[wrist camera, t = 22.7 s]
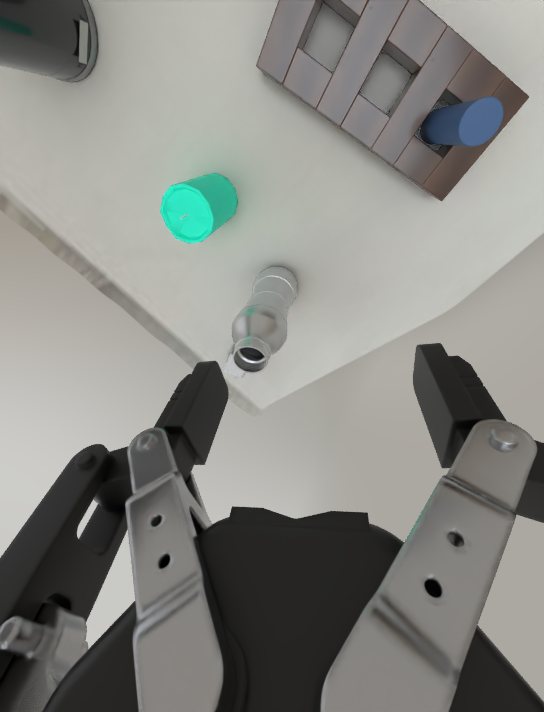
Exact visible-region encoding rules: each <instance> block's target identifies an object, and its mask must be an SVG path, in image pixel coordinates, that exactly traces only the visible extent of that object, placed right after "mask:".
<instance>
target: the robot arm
mask: <svg viewBox="0 0 544 712" xmlns="http://www.w3.org/2000/svg"><path fill="white" fill-rule="evenodd" d="M96 55H97V32H96V26H95V22H94V18H93V14H92V11H91V8H90V5H89V3H88V0H0V66H4V67H8V68H13V69H18V70H22V71H27V72H31V73H36V74H40V75H44V76H49V77H53V78H56V79H59V80H63V81H67V82H77V81H80V80H82V79H84V78H85V77H86V76H87V75H88V74H89V73H90V72H91V70H92V68H93V66H94V63H95V60H96ZM413 385H414V390H415V394H416V396H417V399H418V402H419V405H420V408H421V411H422V413H423V416H424V419H425V422H426V425H427V427H428V430H429V433H430V436H431V439H432V442H433V444H434V447H435V450H436V453H437V455H438V458H439V461H440V464H441V467H442V468H450V470H449V471H448V473H447V475H446V476H442V478H441V479H440V481H439V482H438V484H437V486H436V487H435V489H434V491H433V493H432V495H431V496H430V498H429V500H428V502H427V503H426V505H425V507H424V509H423V510H422V512H421V514H420V516H419V518H418V519H417V521H416V523H415V525H414V526H413V528H412V530H411V532H410V533H409V535H408V537H407V539H406V541H405V542H403V541H401V540H400V539H398V538H397V537H396V536H394V535H393V534H391V533H390V532H388V531H386V530H384V529H382V528H380V527H378V526H375V525H372V524H369V521H368V513H362V512H340V511H330V512H326V513H321V514H317V515H312V516H308V517H303V518H298V519H294V518H290V517H287V516H284V515H282V514H279V513H276V512H273V511H270V510H267V509H264V508H251V507H232V509H231V513H230V517H228V518H225V519H223V520H220V521H218V522H216V523H214V524H212V523H211V521H210V519H209V517H208V515H207V512H206V510H205V507H204V504H203V501H202V499H201V496H200V493H199V490H198V487H197V484H196V482H195V479H194V476H193V474H192V472H191V471H192V468H193V465H204V464H205V462H206V460H207V457H208V454H209V451H210V448H211V445H212V443H213V440H214V437H215V434H216V431H217V429H218V426H219V423H220V420H221V417H222V415H223V412H224V409H225V406H226V404H227V401H228V387H227V384H226V382H225V379H224V377H223V374H222V372H221V369H220V367H219V364H218V363H217V362H216V361H207V362H199V363H197V365H196V367H195V368H194V370H193V372H192V374H188V375H187V376H186V377H185V378H184V379H183V380H182V381H181V382H180V383H179V384H178V386H177V388H176V390H175V391H174V392H175V393H173V395H172V397H171V398H170V401H169V402H168V404H167V405H166V407H165V409H164V411H163V412H162V414H161V416H160V418H159V419H158V421H157V423H156V424H155V426H154V428H150V429H147V430H145V431H143V432H141V433H140V434H138V435H137V436H136V437H135V438H134V439H133V440H132V442H131V443H130V445H129V446H128V447H125V448H121V449H118V450H114V451H111V452H109V451H108V450H107V448H105V446H104V445H101V444H95V445H91V446H89V447H86V448H85V449H83V450H81V451H80V452H79V453H78V454H76V455H75V456H74V457H73V458H72V459H71V460H70V462H69V463H68V465H67V466H66V467H65V469H64V470H63V472H62V473H61V474H60V476H59V477H58V478H57V480H56V481H55V483H54V484H53V485H52V487H51V488H50V490H49V491H48V493H47V494H46V495H45V497H44V498H43V499H42V501H41V502H40V504H39V505H38V506H37V508H36V509H35V511H34V512H33V514H32V515H31V516H30V518H29V519H28V520H27V522H26V523H25V525H24V526H23V527H22V529H21V530H20V531H19V533H18V534H17V536H16V537H15V539H14V540H13V541H12V543H11V544H10V546H9V547H8V548H7V550H6V551H5V552H4V554H3V555H2V557H1V558H0V712H544V702H543V700H541V698H540V697H539V696H538V695H537V693H536V692H535V691H534V690H533V689H532V688H531V687H530V685H529V684H528V683H527V682H526V681H525V680H524V678H523V677H522V676H521V675H520V674H519V673H518V672H517V670H516V669H515V668H514V667H513V666H512V665H511V663H510V662H509V661H508V660H507V659H506V658H505V657H504V656H503V654H502V653H501V652H500V651H499V650H498V648H497V647H496V646H495V645H494V644H493V643H492V642H491V640H490V639H489V638H488V637H487V636H486V635H485V633H484V632H483V631H482V630H481V629H480V628H479V626H478V625H477V624H478V621H479V619H480V616H481V613H482V610H483V607H484V605H485V602H486V599H487V597H488V594H489V591H490V588H491V585H492V583H493V580H494V577H495V574H496V572H497V569H498V566H499V563H500V560H501V558H502V555H503V552H504V549H505V547H506V543H507V541H508V538H509V535H510V532H511V530H512V527H513V524H514V521H515V518H516V514H517V515H520V516H523V517H526V518H530V519H533V520H536V521H539V522H543V523H544V443H541V442H538V441H535V440H534V439H533V438H532V437H531V436H530V434H528V433H527V432H526V431H525V430H523V429H522V428H520V427H519V426H517V425H514V424H512V423H509V422H507V421H506V419H505V418H504V416H503V415H502V413H501V411H500V410H499V408H498V407H497V405H496V404H495V402H494V401H493V399H492V397H491V396H490V394H489V393H488V391H487V389H486V388H485V387H484V386H483V383H482V382H481V380H480V378H479V377H477V374H476V372H475V371H474V369H473V368H472V366H471V364H469V363H468V362H466V361H465V360H463V359H462V358H461V357H459V356H448V355H447V353H446V352H445V349H444V348H443V346H442V344H440V343H435V344H422V345H417V347H416V353H415V363H414V372H413ZM93 500H95V501H96V502H97V503H98V505H97V507H96V509H95V511H94V513H93V514H92V516H91V518H90V520H89V522H88V523H87V525H86V527H85V529H84V531H83V532H82V534H81V536H80V538H79V539H78V537H77V528H78V525H79V523H80V521H81V520H82V518H83V516H84V514H85V513H86V511H87V509H88V507H89V506H90V504H91V502H92V501H93ZM127 529H128V534H129V544H130V554H131V564H132V573H133V583H134V592H135V601H134V602H133V603H132V604H131V606H130V607H129V608H128V609H127V610H126V611H125V612H124V613H123V614H122V615H121V616H120V617H119V618H118V619H117V620H116V621H115V622H114V624H112V626H110V628H108V630H107V631H106V632H105V633H104V634H103V635H102V636H101V637H100V638H99V639H98V640H97V641H96V642H95V643H94V644H93V645H92V646H91V647H90V649H88V643H87V642H86V641H85V639H86V632H87V629H86V628H87V626H86V621H87V619H88V617H89V614H90V612H91V610H92V608H93V605H94V603H95V601H96V599H97V597H98V594H99V592H100V590H101V588H102V585H103V583H104V581H105V579H106V576H107V574H108V572H109V569H110V567H111V565H112V563H113V560H114V558H115V556H116V554H117V551H118V549H119V547H120V545H121V543H122V540H123V538H124V536H125V534H126V531H127Z"/></svg>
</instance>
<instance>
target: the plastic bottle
mask: <svg viewBox="0 0 544 712" xmlns="http://www.w3.org/2000/svg"><path fill="white" fill-rule="evenodd" d="M297 291H298V288H297V282H296V279H295V277H294V275H293V274H292V273H291V272H290V271H289V270H287V269H285V268H283V267H277V266H275V267H269V268H267V269H265V270H264V271H262V272H261V273H260V274H259V275H258V276H257V277H256V279H255V281H254V285H253V293H252V296H251V299H250V300H249V302H248V303H247V305H246V306H245V307H244V308H243V309H242V310H241V312H240V313H239V314H238V315H237V316H236V318H235V319H234V321H233V324H232V338H233V341H234V343H235V344H236V345H235V350H234V352H233V362H234V364H235V365H236V367H238V368H239V369H240V370H242V371H244V372H247V373H258V372H260V371H262V370H263V369H265V367H266V366H267V363H268V360H269V358H270V355H273V354H274V353H276V352H277V351H278V350H279V349H280V348H281V347H282V346H283V344H284V343H285V341H286V337H287V315H288V310H289V308H290V306H291V305H292V303H293V301H294V300H295V298H296V295H297Z"/></svg>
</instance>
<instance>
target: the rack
mask: <svg viewBox="0 0 544 712" xmlns="http://www.w3.org/2000/svg"><path fill="white" fill-rule="evenodd" d="M322 2H325V3H326V4H327V5H328V6H330V7H331V8H332V9H333V10H334V11H336V12H337V13H338V14H339V15H341V16H342V17H343V18H344V19H346V20H347V21H348V22H349V23H350V24H352V25H353V26H354V27H355V29H354V31H353V33H352V35H351V37H350V39H349V42H348V44H347V46H346V48H345V50H344V52H343V54H342V56H341V58H340V60H339V62H338V64H337V67H336V69H335V71H334V73H332V72H330V71H329V70H328V69H326V68H325V67H324V66H323V65H321V64H320V63H319V62H317V61H316V60H315V59H313V58H312V57H311V56H309V55H308V54H307V53H306V52H304V51H303V47H304V45H305V43H306V40H307V38H308V35H309V33H310V31H311V28H312V26H313V23H314V21H315V18H316V16H317V14H318V11H319V9H320V6H321V4H322ZM381 50H384V51H385V52H386V53H387V54H389V55H390V56H391V57H392V58H393V59H395V60H396V61H397V62H398V63H400V64H401V65H402V66H403V67H405V68H406V69H407V70H408V71H409V72H411V73H412V74H413V75H412V77H411V78H410V80H409V82H408V83H407V85H406V87H405V88H404V90H403V91H402V93H401V95H400V96H399V98H398V100H397V101H396V103H395V104H394V106H393V108H392V109H391V111H390V113H389V114H388V115H387V114H385V113H384V112H383V111H381V110H380V109H379V108H377V107H376V106H375V105H373V104H372V103H371V102H370V101H368V100H367V99H366V98H364V97H363V96H362V95H360V94H359V91H360V89H361V87H362V85H363V83H364V82H365V80H366V78H367V76H368V74H369V72H370V70H371V69H372V67H373V65H374V63H375V61H376V59H377V57H378V56H379V54H380V52H381ZM256 66H257V67H258V68H259V69H260V70H261V71H262V72H263V73H264V74H266V75H267V76H268V77H270V78H271V79H272V80H274V81H275V82H277V83H278V84H279V85H281V86H282V87H283V88H285V89H286V90H288V91H289V92H290V93H292V94H293V95H294V96H296V97H297V98H299V99H300V100H301V101H303V102H304V103H305V104H307V105H308V106H310V107H311V108H312V109H314V110H315V111H317V112H318V113H319V114H321V115H322V116H323V117H325V118H326V119H327V120H329V121H330V122H332V123H333V124H334V125H336V126H337V127H339V128H340V129H341V130H343V131H344V132H345V133H347V134H348V135H349V136H351V137H352V138H354V139H355V140H356V141H358V142H359V143H360V144H362V145H363V146H365V147H366V148H368V149H369V150H370V151H371V152H373V153H374V154H376V155H377V156H378V157H380V158H381V159H382V160H384V161H385V162H387V163H388V164H389V165H391V166H392V167H393V168H395V169H396V170H398V171H399V172H400V173H402V174H403V175H404V176H406V177H407V178H409V179H410V180H411V181H413V182H414V183H415V184H417V185H418V186H420V187H421V188H422V189H424V190H425V191H426V192H428V193H429V194H431V195H432V196H433V197H435V198H437V199H439V200H440V201H442V200H443V199H444V198H445V197H446V196H447V195H448V193H449V192H450V191H451V190H452V189H453V187H454V186H455V185H456V184H457V183H458V181H459V180H460V179H461V178H462V177H463V176H464V174H465V173H466V172H467V171H468V170H469V168H470V167H471V166H472V165H473V164H474V162H475V161H476V160H477V159H478V158H479V156H480V155H481V154H482V153H483V152H484V151H485V149H486V148H487V147H488V146H489V145H490V143H491V142H492V141H493V140H494V139H495V137H496V136H497V135H498V134H499V133H500V131H501V130H502V129H503V128H504V127H505V126H506V124H507V123H508V122H509V121H510V120H511V118H512V117H513V116H514V115H515V114H516V112H517V111H518V110H519V109H520V108H521V107H522V105H523V104H524V103H525V102H526V101H527V99H528V98H529V96H528V95H527V94H526V93H525V92H523V91H522V90H521V89H520V88H519V87H518V86H517V85H516V84H514V83H513V82H512V81H511V80H510V79H509V78H508V77H506V75H504V74H503V73H502V72H501V71H500V70H499V69H498V68H496V67H495V66H494V65H493V64H492V63H491V62H490V61H488V60H487V59H486V58H485V57H484V56H483V55H482V54H480V53H479V52H478V51H477V50H476V49H475V48H473V47H472V46H471V45H470V44H469V43H468V42H467V41H466V40H464V39H463V38H462V37H461V36H460V35H459V34H458V33H456V32H455V31H454V30H453V29H452V28H451V27H450V26H448V25H447V24H446V23H445V22H444V21H443V20H441V19H440V18H439V17H438V16H437V15H436V14H435V13H433V12H432V11H431V10H430V9H429V8H428V7H427V6H425V5H424V4H423V3H422V2H421V1H420V0H279V2H278V5H277V7H276V10H275V13H274V16H273V19H272V22H271V25H270V28H269V30H268V33H267V36H266V39H265V42H264V45H263V48H262V50H261V53H260V56H259V59H258V62H257V65H256ZM440 97H441V98H443V99H444V100H445V101H446V102H447V103H449V104H450V105H451V106H452V105H456V104H459V103H463V102H467V101H471V100H475V99H479V98H483V97H495V98H497V99H498V100H499V101H500V102H501V103H502V106H503V119H502V122H501V125H500V127H499V129H498V130H497V132H496V133H495V134H494V135H493V136H492V137H491V138H490V139H489V140H488V141H487V142H485V143H483V144H481V145H479V146H474V147H470V146H456V145H442V147H441V148H440V149H439V151H438V152H437V153H436V152H435V151H434V150H432V149H431V148H430V147H428V146H427V145H426V144H424V143H423V142H422V141H421V140H419V139H418V138H417V137H415V136H414V134H415V133H416V131H417V130H418V128H419V127H420V126H421V124H422V123H423V121H424V120H425V118H426V117H427V115H428V114H429V112H430V111H431V109H432V108H433V107H434V105H435V104H436V102H437V101H438V99H439V98H440Z"/></svg>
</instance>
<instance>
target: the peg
mask: <svg viewBox="0 0 544 712" xmlns="http://www.w3.org/2000/svg"><path fill="white" fill-rule="evenodd" d="M502 119H503V106H502V103H501V102H500V101H499V100H498V99H497V98H495V97H483V98H479V99H475V100H471V101H467V102H463V103H459V104H456V105H452V106H448V107H444V108H440V109H436V110H434V111H432V112H431V113H429V114H428V115H427V117H426V118H425V120H424V121H423V123H422V126H421V137H422V139H423V140H424V141H425V142H426V143H429V144H442V145H456V146H470V147H474V146H479V145H481V144H483V143H485V142H487V141H488V140H489V139H490V138H491V137H492V136H493V135H494V134H495V133H496V132H497V130H498V129H499V127H500V125H501V122H502Z"/></svg>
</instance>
